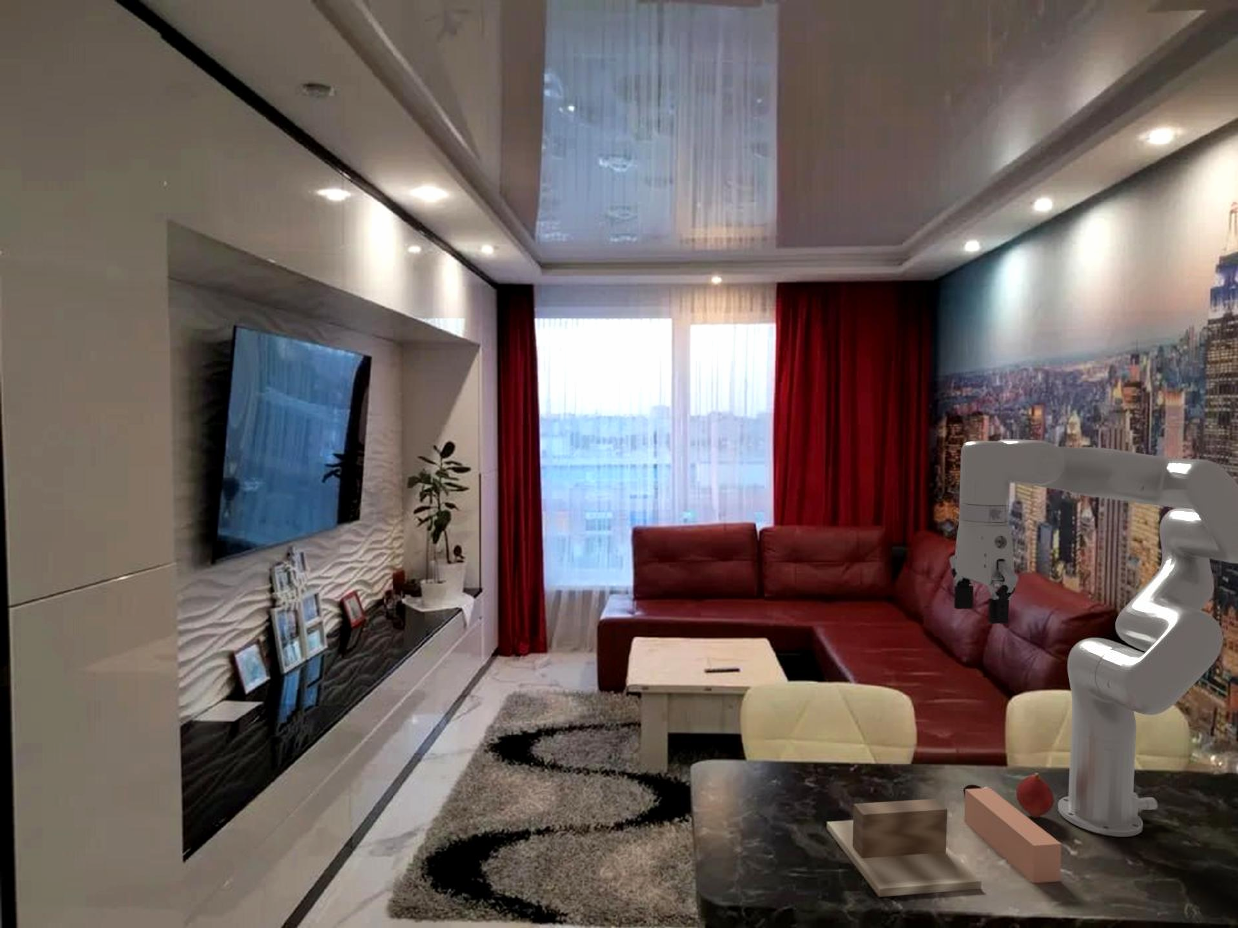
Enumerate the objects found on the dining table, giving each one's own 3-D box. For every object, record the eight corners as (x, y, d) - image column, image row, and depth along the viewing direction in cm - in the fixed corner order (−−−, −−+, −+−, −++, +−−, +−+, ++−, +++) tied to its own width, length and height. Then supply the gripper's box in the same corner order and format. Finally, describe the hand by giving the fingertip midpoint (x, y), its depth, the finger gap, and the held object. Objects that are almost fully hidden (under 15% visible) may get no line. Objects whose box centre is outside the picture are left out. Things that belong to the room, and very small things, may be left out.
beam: (988, 821, 135) (989, 787, 134) (1059, 882, 117) (1061, 843, 116) (964, 822, 134) (965, 789, 134) (1032, 884, 116) (1033, 845, 116)
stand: (915, 822, 133) (916, 776, 133) (980, 888, 115) (982, 834, 114) (826, 828, 131) (828, 781, 131) (879, 896, 112) (880, 841, 112)
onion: (1008, 812, 137) (1009, 768, 137) (1030, 806, 140) (1032, 762, 139) (1037, 828, 132) (1039, 782, 132) (1060, 821, 134) (1062, 776, 134)
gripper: (1038, 520, 121) (1034, 628, 122) (973, 508, 138) (970, 603, 139) (994, 521, 120) (991, 629, 121) (934, 508, 137) (931, 604, 138)
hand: (980, 615), depth 130 cm, fingers open, 9 cm apart
